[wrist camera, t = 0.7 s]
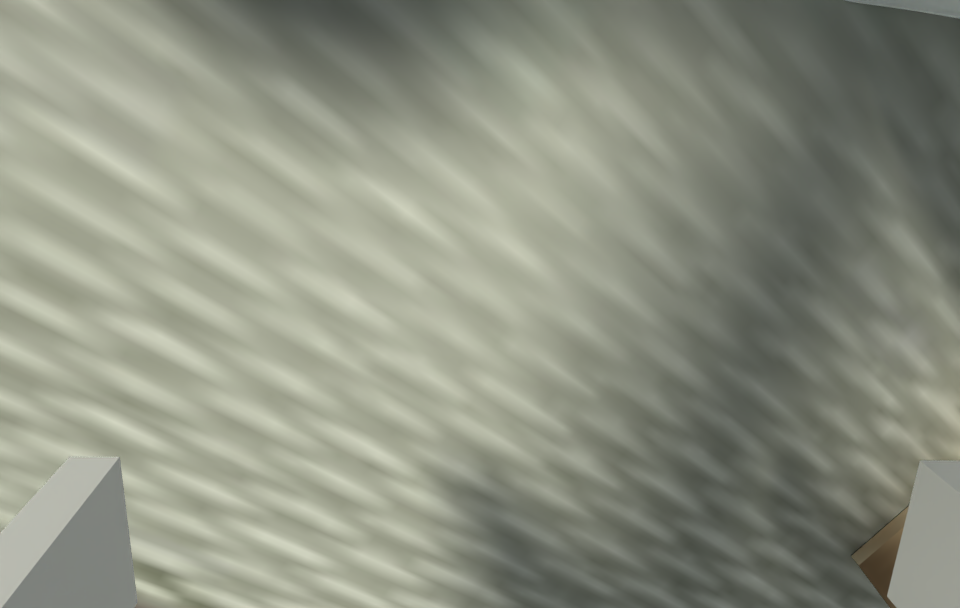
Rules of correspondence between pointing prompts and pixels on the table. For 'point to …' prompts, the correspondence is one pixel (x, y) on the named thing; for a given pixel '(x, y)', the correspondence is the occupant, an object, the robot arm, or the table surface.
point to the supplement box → (920, 6)
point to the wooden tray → (882, 555)
